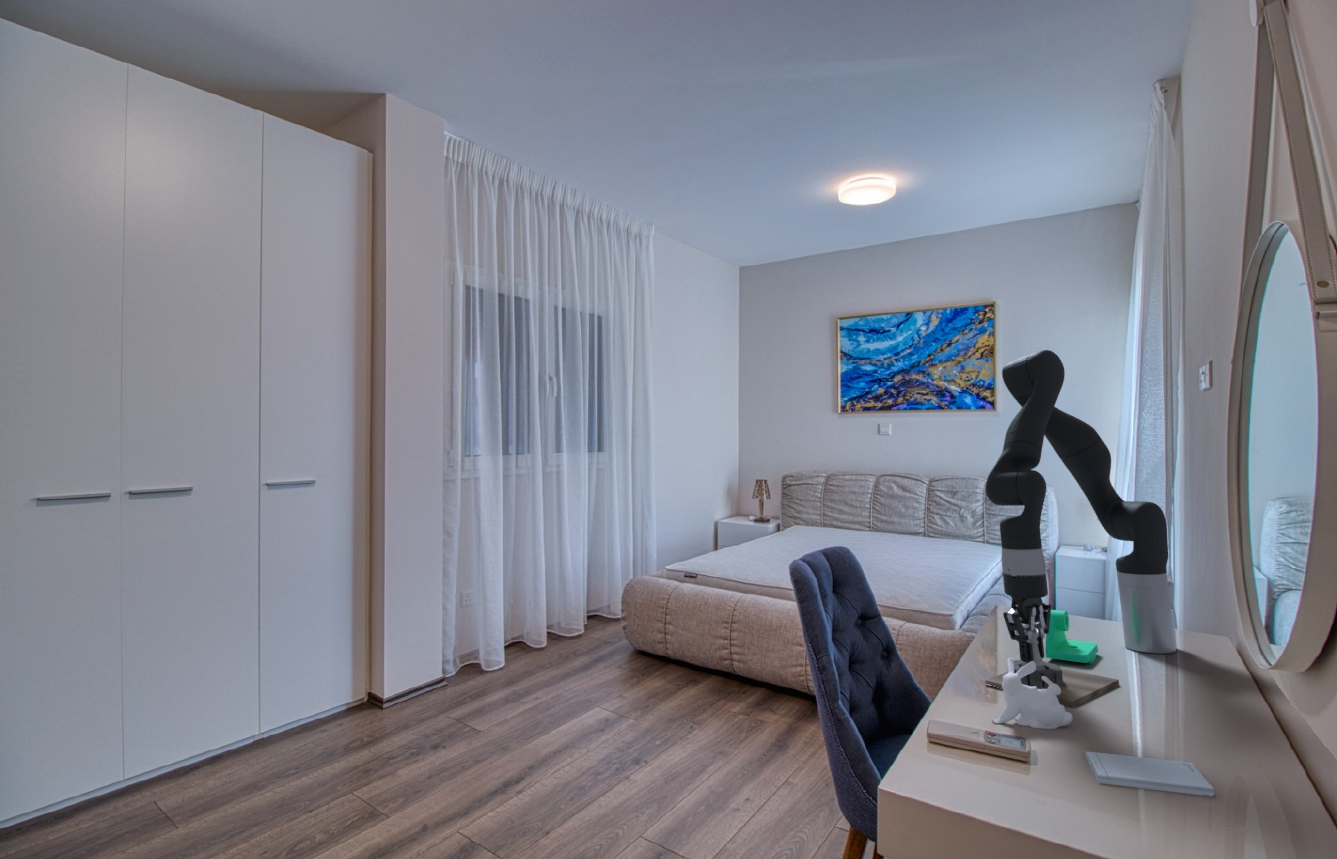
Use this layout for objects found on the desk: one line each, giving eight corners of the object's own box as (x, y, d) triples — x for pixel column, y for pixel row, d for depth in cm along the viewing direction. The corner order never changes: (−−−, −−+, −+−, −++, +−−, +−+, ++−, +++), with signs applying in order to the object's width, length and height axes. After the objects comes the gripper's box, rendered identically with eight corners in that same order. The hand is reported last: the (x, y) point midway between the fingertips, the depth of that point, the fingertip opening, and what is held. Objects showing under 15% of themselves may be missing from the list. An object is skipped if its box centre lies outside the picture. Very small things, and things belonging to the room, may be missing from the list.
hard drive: (1190, 760, 86) (1084, 748, 91) (1214, 788, 79) (1097, 773, 84) (1192, 773, 86) (1085, 760, 91) (1215, 802, 79) (1098, 786, 84)
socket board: (1033, 666, 133) (1031, 650, 133) (1119, 684, 119) (1117, 666, 120) (985, 685, 123) (984, 667, 123) (1073, 707, 110) (1071, 686, 110)
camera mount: (1087, 668, 131) (1082, 618, 132) (1046, 662, 136) (1041, 614, 137) (1099, 655, 139) (1094, 608, 140) (1060, 650, 145) (1055, 604, 145)
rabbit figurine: (990, 723, 105) (985, 664, 106) (991, 708, 111) (986, 653, 112) (1074, 734, 99) (1069, 672, 100) (1070, 718, 106) (1065, 659, 107)
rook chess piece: (1043, 667, 124) (1039, 626, 124) (1049, 674, 119) (1044, 632, 120) (1018, 666, 125) (1014, 626, 126) (1022, 673, 121) (1018, 631, 122)
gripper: (1023, 565, 131) (1031, 649, 129) (985, 573, 123) (993, 662, 122) (1061, 568, 125) (1070, 656, 123) (1024, 577, 117) (1033, 671, 115)
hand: (1032, 659), depth 122 cm, fingers closed on rook chess piece, 3 cm apart
